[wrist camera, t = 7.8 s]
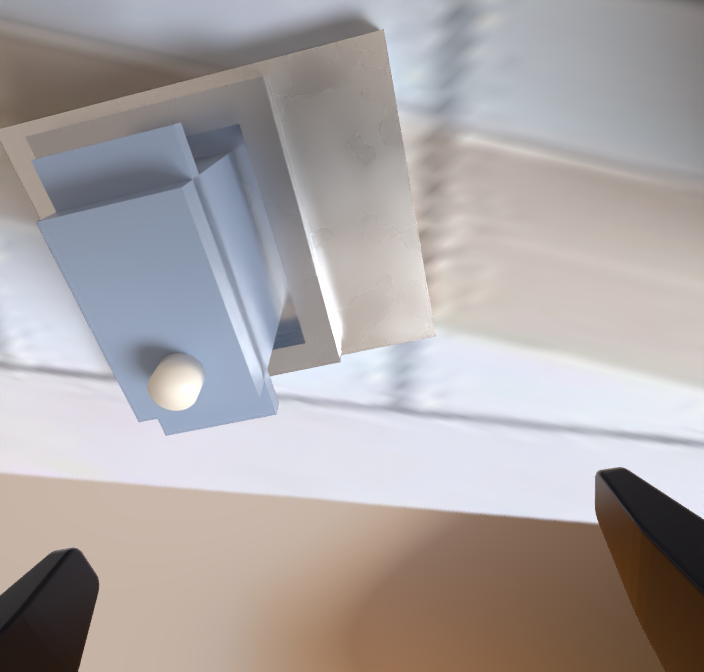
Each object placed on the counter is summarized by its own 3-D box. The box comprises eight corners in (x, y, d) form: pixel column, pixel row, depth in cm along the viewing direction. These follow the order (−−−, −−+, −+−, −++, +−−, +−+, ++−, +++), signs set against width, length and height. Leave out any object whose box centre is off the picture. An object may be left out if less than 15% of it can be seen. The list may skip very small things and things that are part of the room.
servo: (112, 136, 16) (-17, 174, 10) (218, 109, 15) (146, 133, 10) (203, 358, 19) (146, 475, 14) (291, 340, 19) (268, 453, 13)
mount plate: (381, 31, 15) (386, 26, 13) (431, 324, 20) (440, 352, 18) (13, 126, 16) (-31, 134, 14) (140, 383, 21) (119, 416, 19)
